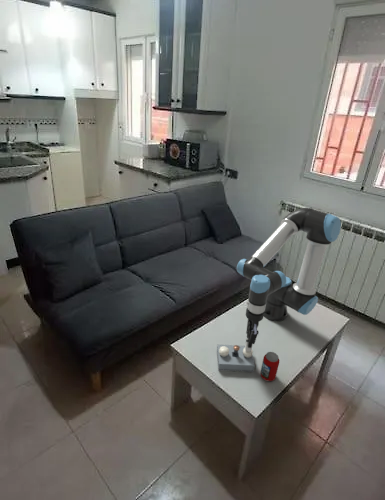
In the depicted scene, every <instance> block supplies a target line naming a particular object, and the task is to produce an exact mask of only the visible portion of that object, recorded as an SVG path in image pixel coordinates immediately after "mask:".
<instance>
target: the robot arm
mask: <svg viewBox="0 0 385 500" xmlns="http://www.w3.org/2000/svg"><path fill="white" fill-rule="evenodd" d="M341 228H342V221H341V219H340V218H339V217H338V216H336V215H333V214H332V213H328V212H325V211H321V210H317V209H314V208H311V207H301V208H298V209H295V210H293V211H291V212H290V213H288V214H287V215H285V216H284V217H283V218H282V220H281V221H280V225H279V226H278V227H277V228H276V229H275V230H274V231H273V232H272V234H271V235H270V236H269V237H268V238H267V239H266V240H265V241H264V242H263V243H262V244H261V246H260V247H258V249H256V251H255V252H254V253H253V254H252V255H251V256H250V257H249V258H247V259H246V258H242V259H240V260H239V261H238V263H237V265H236V271H237V273H238V274H239V275H241V276H242V277H244V278H246V279H248V280H250V281H251V282H250V285H249V293H248V300H247V301H246V310H245V316H246V318H247V321H246V322H247V324H246V332H245V334H246V339H245V345H244V346H245V352H251V350H253V345H255V343H256V341H257V337H258V335H259V330H258V327H259V323H260V322H261V321H263V319H264V318H266V319H267V320H270V321H273V322H274V321H275V322H280V321H283V320H285V319H286V318H287V317H288V307H289V308H290V309H292V310H294V311H295V312H297V313H299V314H301V315H304V316H306V315H308V314H310V313H311V312H312V311H313V310H314V309H315V307H316V306H317V303H318V301H319V297H318V296H317V295H316V293H317V290H316V289H315V286H316V285H315V284H316V283H317V279H318V275H319V272H320V269H321V266H322V264H323V263H322V262H323V259H324V257H325V256H324V255H325V253H326V250H327V247H328V246H330V245H332V243H333V242H335V241H337V239H338V238H339V235H340V233H341ZM300 231H301V232H303V233H306V237H305V238H306V240H307V241H308V242H307V244H306V248H305V252H304V255H303V260H302V262H301V263H302V264H301V265H300V266H301V267H300V269H299V274H298V277H297V281H296V282H294V283H293V282H292V280H291V279H292V278H290V277H289V276H286V274H285V273H283V272H282V271H280V270H274V271H270V270H269V269H267V268H265V267H266V266H267V264H268V263H269V262H270V261H271V259H272V258H273V257H274V256H275V255H276V254H277V253H278V252H279V251H280V250H281V248H282V247H283V246H284V245H285V244H286V243H287V242H288V241H289V240H290V238H291V237H292V236H294V235H296V234H298V233H299V232H300ZM292 283H293V284H292Z"/></svg>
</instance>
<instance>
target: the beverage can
mask: <svg viewBox="0 0 385 500" xmlns="http://www.w3.org/2000/svg"><path fill="white" fill-rule="evenodd" d="M279 365H280V358H279V355H278V354H277V353H275V352H273V351H268V352H266V353H265V354H264V355H263V359H262V364H261V369H260V377H261V378H262V379H263V380H265V381H268V382H273V381H275V380H276V378H277V373H278V370H279Z"/></svg>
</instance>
